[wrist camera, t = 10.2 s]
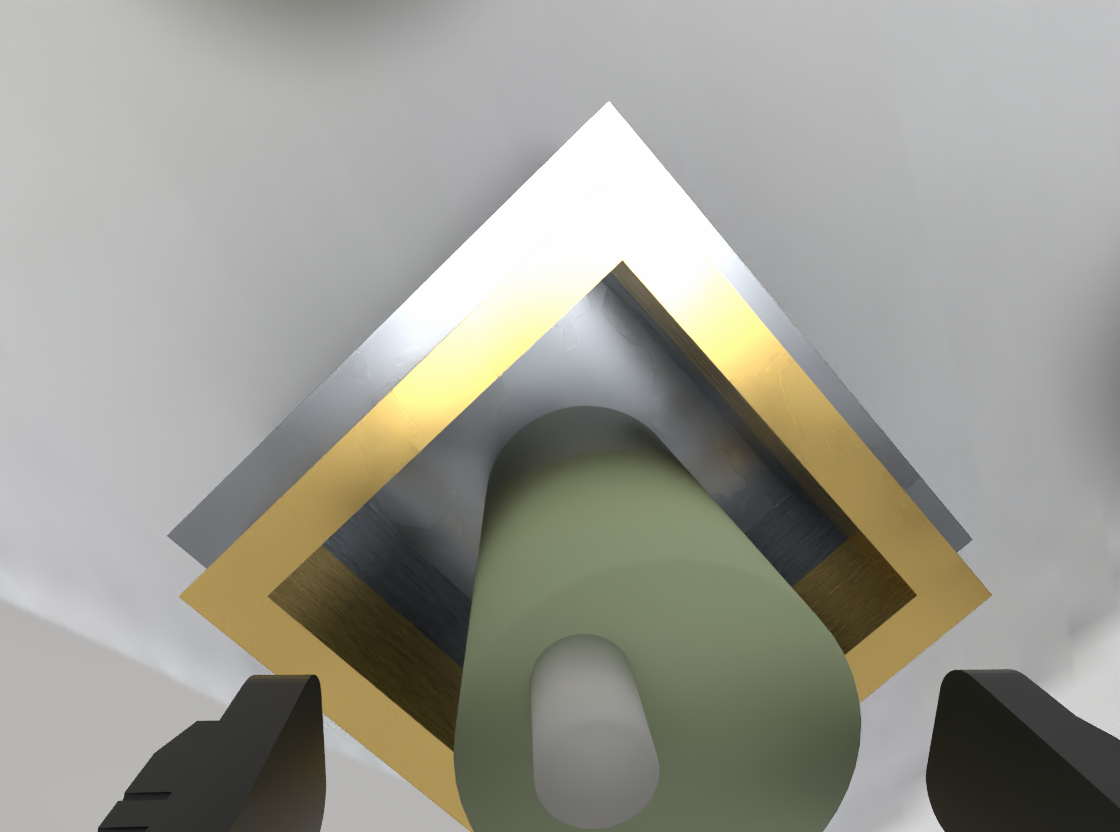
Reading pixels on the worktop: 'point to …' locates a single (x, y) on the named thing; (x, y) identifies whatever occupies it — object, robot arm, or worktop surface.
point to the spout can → (639, 653)
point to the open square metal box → (528, 393)
